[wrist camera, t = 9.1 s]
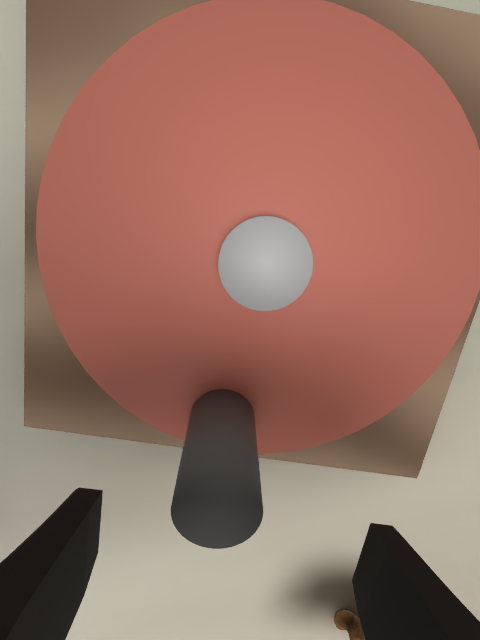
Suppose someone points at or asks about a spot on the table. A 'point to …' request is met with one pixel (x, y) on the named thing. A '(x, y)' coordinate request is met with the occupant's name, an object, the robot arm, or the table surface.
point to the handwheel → (259, 236)
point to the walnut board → (41, 126)
